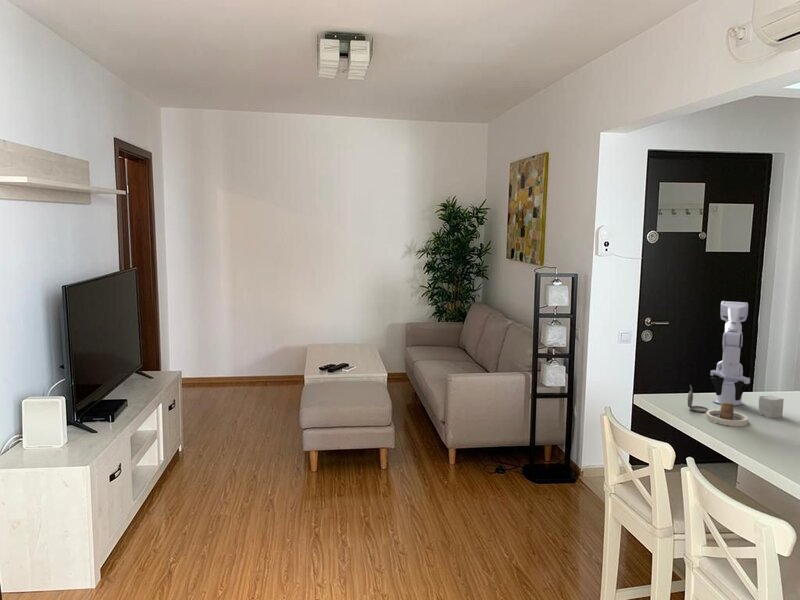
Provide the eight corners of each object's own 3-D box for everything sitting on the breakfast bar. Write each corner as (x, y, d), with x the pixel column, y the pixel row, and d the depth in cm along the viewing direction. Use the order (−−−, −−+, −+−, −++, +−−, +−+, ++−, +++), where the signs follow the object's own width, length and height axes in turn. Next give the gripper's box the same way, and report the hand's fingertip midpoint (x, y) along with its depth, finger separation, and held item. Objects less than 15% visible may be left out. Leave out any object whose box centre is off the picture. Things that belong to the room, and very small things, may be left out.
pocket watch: (711, 413, 236) (713, 389, 235) (690, 412, 236) (691, 388, 235) (701, 407, 244) (703, 383, 243) (681, 406, 244) (682, 383, 243)
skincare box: (782, 417, 232) (784, 398, 231) (770, 418, 230) (772, 400, 229) (769, 412, 238) (770, 394, 237) (757, 413, 236) (758, 395, 235)
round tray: (720, 412, 236) (720, 407, 236) (755, 422, 224) (755, 417, 224) (698, 417, 230) (698, 412, 230) (732, 428, 218) (733, 423, 217)
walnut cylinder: (724, 416, 230) (725, 401, 229) (735, 419, 226) (736, 404, 225) (717, 417, 228) (718, 402, 227) (728, 421, 224) (729, 405, 223)
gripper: (706, 360, 229) (704, 394, 230) (742, 368, 216) (740, 403, 218) (717, 358, 232) (715, 391, 234) (754, 366, 219) (751, 401, 221)
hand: (728, 397), depth 226 cm, fingers open, 7 cm apart
